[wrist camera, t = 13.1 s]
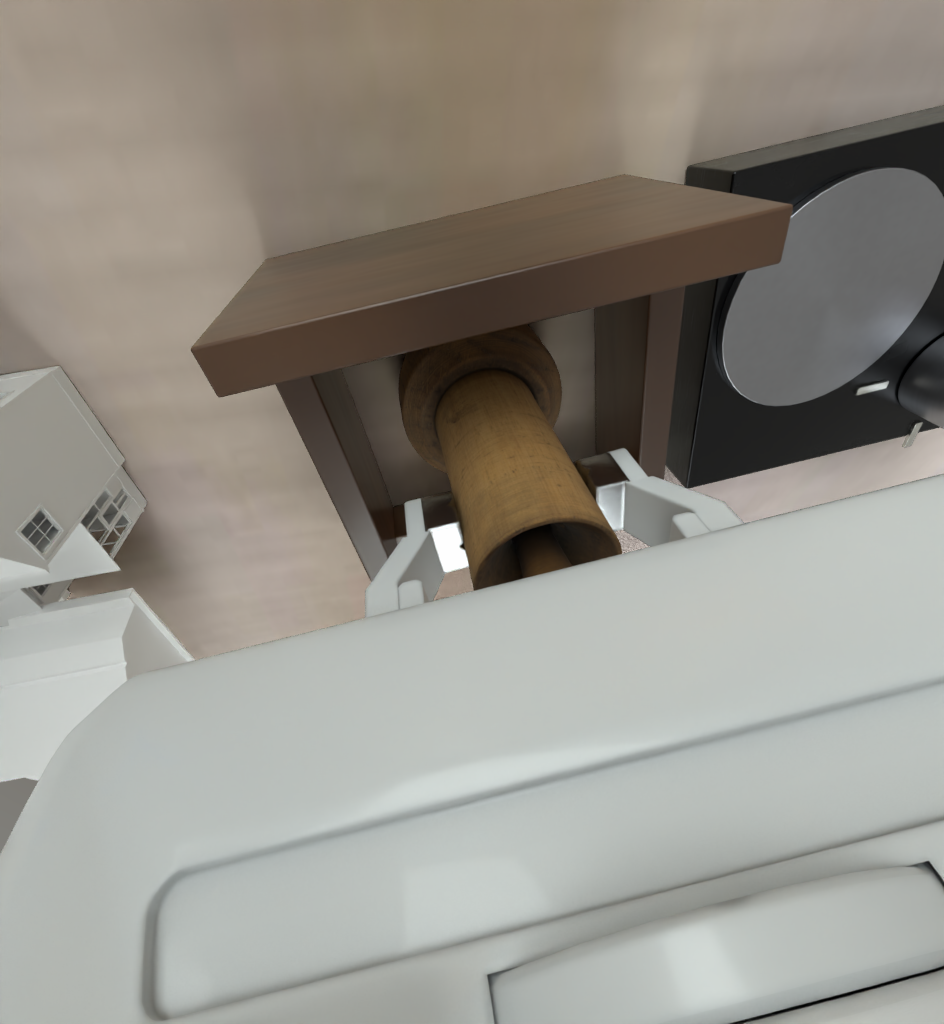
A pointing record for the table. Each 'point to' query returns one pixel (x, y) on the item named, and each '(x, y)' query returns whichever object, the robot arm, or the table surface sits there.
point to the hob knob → (925, 385)
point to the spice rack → (487, 314)
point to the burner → (834, 287)
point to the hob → (699, 379)
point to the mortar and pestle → (503, 454)
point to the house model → (63, 571)
